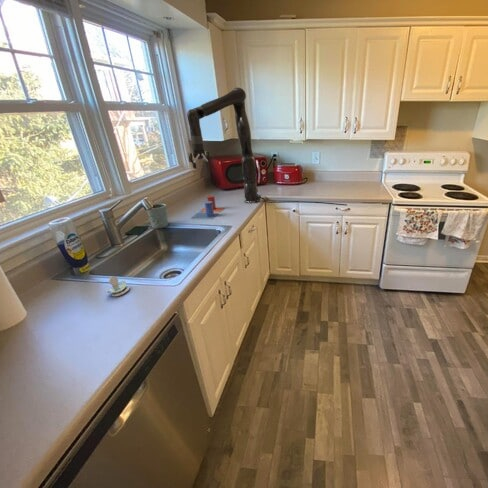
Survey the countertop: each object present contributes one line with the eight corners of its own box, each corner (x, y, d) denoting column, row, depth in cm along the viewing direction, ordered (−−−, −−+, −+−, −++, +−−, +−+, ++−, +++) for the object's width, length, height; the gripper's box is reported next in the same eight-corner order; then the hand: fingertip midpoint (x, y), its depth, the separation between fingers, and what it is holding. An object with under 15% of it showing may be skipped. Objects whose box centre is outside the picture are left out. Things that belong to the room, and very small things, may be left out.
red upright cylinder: (216, 208, 193) (215, 195, 189) (214, 210, 189) (212, 197, 185) (210, 208, 193) (208, 195, 190) (207, 210, 189) (205, 197, 185)
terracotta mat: (224, 208, 195) (224, 207, 195) (219, 212, 187) (219, 211, 187) (206, 207, 196) (206, 207, 196) (200, 211, 188) (200, 211, 187)
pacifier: (134, 288, 105) (121, 285, 106) (130, 274, 102) (117, 271, 104) (117, 299, 98) (103, 296, 100) (112, 284, 96) (98, 281, 97)
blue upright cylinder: (215, 214, 181) (213, 201, 177) (212, 217, 177) (210, 203, 173) (208, 214, 181) (206, 201, 178) (205, 216, 177) (203, 203, 173)
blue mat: (217, 213, 184) (217, 213, 184) (212, 219, 175) (211, 218, 174) (198, 213, 184) (198, 212, 184) (191, 218, 175) (191, 217, 175)
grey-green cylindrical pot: (150, 229, 157) (145, 209, 152) (150, 224, 165) (145, 204, 160) (170, 227, 161) (166, 207, 156) (169, 221, 170) (165, 202, 164)
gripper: (190, 143, 177) (194, 169, 184) (210, 142, 187) (213, 167, 194) (184, 143, 181) (188, 168, 188) (203, 141, 191) (207, 166, 198)
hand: (200, 167), depth 191 cm, fingers open, 8 cm apart
